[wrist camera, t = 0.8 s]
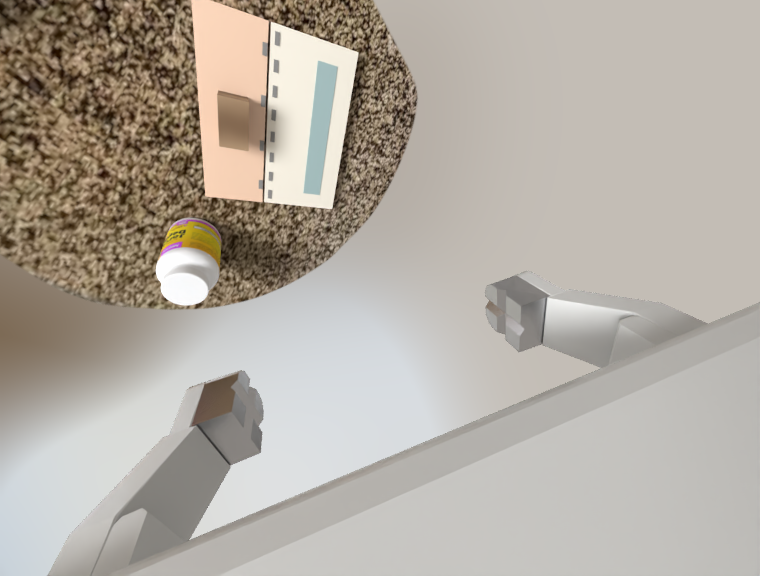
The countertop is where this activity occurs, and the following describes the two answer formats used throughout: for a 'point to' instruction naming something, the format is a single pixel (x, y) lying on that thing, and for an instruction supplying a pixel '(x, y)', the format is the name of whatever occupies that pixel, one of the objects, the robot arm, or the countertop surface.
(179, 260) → the supplement bottle
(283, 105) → the ticket
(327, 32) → the countertop surface
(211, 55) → the ticket stub
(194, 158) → the countertop surface
